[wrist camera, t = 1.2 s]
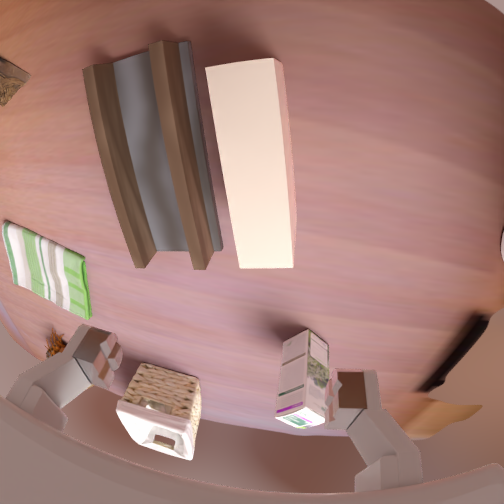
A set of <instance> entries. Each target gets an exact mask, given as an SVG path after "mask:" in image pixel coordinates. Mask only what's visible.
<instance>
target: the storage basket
mask: <svg viewBox="0 0 504 504" xmlns="http://www.w3.org/2000/svg"><path fill="white" fill-rule="evenodd" d="M146 365H147V366H146ZM200 391H201V387H200V385H199V379H197V378H196V377H193V376H189V375H185V374H182V373H178V372H175V371H172V370H168V369H165V368H162V367H157V366H155V365H152V364H147V363H141V364H140V366H139V368H138V369H137V371H136V374H135V375H134V376H133V378H132V380H131V382H130V383H129V385H128V388H127V389H126V392H125V393H124V396H123V397H122V399H121V400H118V403H117V408H116V412H117V414H118V416H119V418H120V420H121V422H122V423H123V425H124V426H125V428H126V429H127V431H128V433H129V434H130V436H131V437H132V438H133V439H134V440H135V441H136V442H137V443H138V444H139V445H143V446H146V447H149V448H151V449H154V450H157V451H160V452H163V453H166V454H169V455H173V456H176V457H180V458H184V459H187V460H191V459H192V458H193V454H194V448H195V447H194V446H195V439H196V433H197V429H198V425H199V419H200V417H201V416H200V415H201V393H200ZM156 434H158V435H162V436H165V437H168V438H171V439H173V440H175V445H174V446H171V445H168V444H165V443H162V442H158V441H155V440H154V437H155V435H156Z"/></svg>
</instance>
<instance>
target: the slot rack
mask: <svg viewBox="0 0 504 504" xmlns="http://www.w3.org/2000/svg"><path fill="white" fill-rule="evenodd" d="M148 47H149V51H147V52H144V53H141V54H138V55H135V56H132V57H129V58H126V59H123V60H120V61H117V62H114V63H107V64H96V65H91V66H89V67H86V68H84V69H82V70H83V76H84V82H85V88H86V94H87V99H88V105H89V110H90V115H91V120H92V124H93V129H94V133H95V138H96V142H97V146H98V150H99V154H100V158H101V162H102V166H103V169H104V173H105V177H106V180H107V184H108V187H109V191H110V194H111V197H112V201H113V204H114V207H115V210H116V214H117V217H118V220H119V223H120V226H121V229H122V232H123V235H124V238H125V240H126V243H127V246H128V249H129V252H130V254H131V257H132V260H133V263H134V265H135V268H145V267H146V266H147V265H148V263H149V262H150V260H151V259H152V257H153V256H154V255H155V253H156V252H157V251H189V253H190V257H191V261H192V264H193V268H194V270H206V268H207V265H208V263H209V261H210V259H211V257H212V255H213V253H214V251H222V249H223V242H222V237H221V231H220V226H219V220H218V215H217V209H216V203H215V197H214V192H213V186H212V180H211V174H210V168H209V162H208V156H207V150H206V144H205V137H204V131H203V124H202V118H201V111H200V105H199V98H198V91H197V84H196V77H195V70H194V63H193V56H192V48H191V42H190V41H185V42H181V43H175V42H169V41H163V40H162V41H158V42H155V43H152V44H148Z"/></svg>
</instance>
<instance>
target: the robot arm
mask: <svg viewBox="0 0 504 504" xmlns="http://www.w3.org/2000/svg"><path fill="white" fill-rule="evenodd" d="M501 254H502V258H503V261H504V232H503V236H502V242H501ZM117 339H118V338H117V336H116V334H115V333H112V332H109V331H105V330H102V329H98V328H95V327H92V326H89V325H85V324H82V325H80V326H79V327H78V329H77V330H76V332H75V333H74V335H73V336H72V338H71V339H70V341H69V343H68V344H67V346H66V347H65V349H64V350H63V352H62V353H61V352H59V353H57V354H55V355H53V356H52V357H50V358H48V359H46V360H45V361H43V362H41V363H39V364H38V365H36V366H34V367H32V368H31V369H29V370H27V371H26V372H24V373H22V374H20V375H19V376H18V378H17V380H16V381H15V383H14V385H13V386H12V388H11V390H10V391H9V393H8V395H7V397H6V398H4V397H2V396H1V395H0V504H504V469H503V468H502V467H501V466H500V465H498V464H495V463H494V464H489V465H486V466H484V467H480V468H478V469H475V470H471V471H468V472H465V473H461V474H458V475H454V476H451V477H447V478H443V479H439V480H434V481H430V482H425V483H423V475H422V465H421V456H420V451H419V449H418V448H417V447H416V446H415V444H414V443H413V442H412V441H411V439H410V438H409V437H408V436H407V435H406V433H405V432H404V431H403V430H402V429H401V427H400V426H399V425H398V424H397V422H396V421H395V420H394V419H393V418H392V416H391V415H390V414H389V413H388V411H387V410H386V409H382V407H381V399H380V392H379V385H378V378H377V372H376V371H375V370H361V369H340V368H335V369H334V370H333V372H332V379H330V380H328V383H327V385H326V390H325V404H326V406H327V407H328V409H327V410H326V412H325V429H333V430H346V432H347V433H348V435H349V437H350V438H351V440H352V442H353V443H354V445H355V446H356V448H357V450H358V451H359V453H360V455H361V456H362V458H363V460H364V461H365V463H366V464H367V466H368V467H367V468H366V469H364V470H363V471H361V472H360V473H358V474H357V475H356V476H355V492H350V493H322V494H318V493H316V494H314V493H311V494H310V493H284V492H270V491H260V490H251V489H243V488H236V487H229V486H223V485H218V484H212V483H207V482H202V481H198V480H193V479H189V478H184V477H180V476H176V475H173V474H169V473H165V472H162V471H158V470H155V469H152V468H148V467H145V466H142V465H139V464H136V463H133V462H130V461H128V460H125V459H122V458H119V457H117V456H114V455H111V454H109V453H107V452H104V451H102V450H99V449H97V448H94V447H92V446H90V445H88V444H86V443H83V442H81V441H79V440H77V439H75V438H72V437H70V436H69V435H67V434H65V433H63V430H64V427H65V425H66V423H67V421H68V418H67V416H66V415H65V414H64V413H63V412H62V411H61V408H62V407H64V406H65V405H66V404H67V403H69V402H70V401H71V400H73V399H74V398H75V397H77V396H78V395H79V394H80V393H82V392H83V391H84V390H86V389H87V388H88V387H89V386H91V384H93V385H96V386H99V387H102V388H105V389H108V390H109V387H110V385H111V383H112V381H113V379H114V377H115V376H114V371H115V370H116V369H118V368H119V367H120V364H121V362H122V357H123V351H122V348H121V346H120V345H119V344H118V343H117V342H116V341H117Z"/></svg>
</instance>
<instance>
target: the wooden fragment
mask: <svg viewBox="0 0 504 504" xmlns="http://www.w3.org/2000/svg"><path fill="white" fill-rule="evenodd" d="M30 76H31V75H30V74H28V73H26V72H25V71H23V70H21V69H19V68H18V67H16V66H14V65H13V64H11V63H9V62H7V61H5V60H4V59H2V58H0V105H2V107H3V106H5V104H7V102H8V101H9V100H10V99H11V98H12V96H13V95H14V94H15V93H16V92H17V91H18V89H19V88H20V87H22V86H24V85H25V84H26V83H27V82H28V80H29V79H30Z"/></svg>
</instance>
